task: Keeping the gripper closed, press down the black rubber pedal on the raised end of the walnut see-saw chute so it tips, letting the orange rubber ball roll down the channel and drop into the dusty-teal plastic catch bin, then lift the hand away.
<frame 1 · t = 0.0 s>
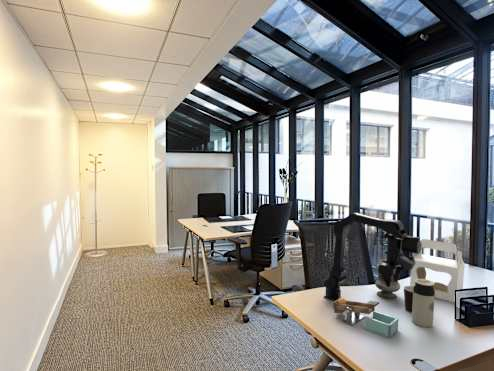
hand: (392, 284, 142), 15 cm above the table, fingers open, 9 cm apart
coffee mug: (415, 310, 150), on the table
fulcrum: (353, 319, 139), on the table
gable box: (435, 293, 172), on the table
catch bin: (381, 329, 131), on the table
lever: (357, 305, 142), point 5 cm above the table, hinge at -10.0°, touching ball
ball: (342, 301, 142), point 6 cm above the table, tilted 23°, touching lever
apothecary jar: (386, 295, 167), on the table
travel mug: (422, 323, 137), on the table
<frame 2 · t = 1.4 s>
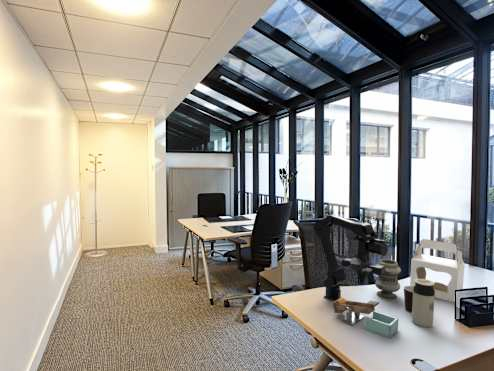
hand: (361, 284, 148), 12 cm above the table, fingers closed
nothing on the table moved.
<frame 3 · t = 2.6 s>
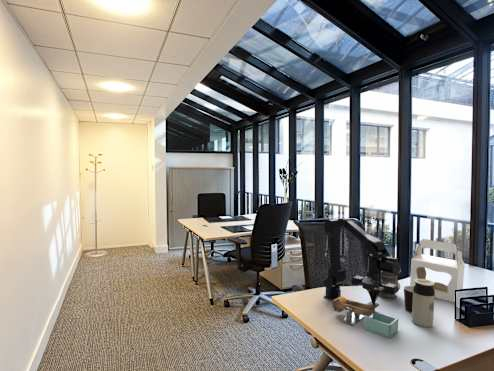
hand: (373, 303, 143), 6 cm above the table, fingers closed, pressing on lever
lever: (357, 305, 142), point 5 cm above the table, hinge at -3.0°, touching ball, gripper
ball: (342, 300, 142), point 7 cm above the table, tilted 15°, touching lever
everything else where it was.
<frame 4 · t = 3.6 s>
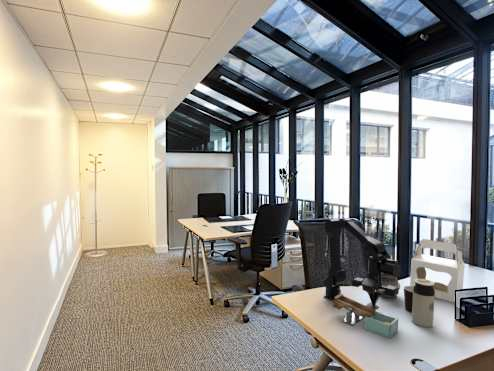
hand: (373, 305, 143), 5 cm above the table, fingers closed
lever: (357, 305, 142), point 5 cm above the table, hinge at 7.8°, touching gripper
ball: (387, 326, 129), point 2 cm above the table, tilted 81°, touching catch bin
everything else where it was.
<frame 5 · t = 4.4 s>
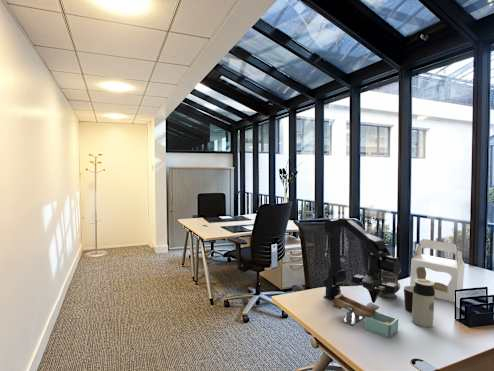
hand: (373, 302, 143), 6 cm above the table, fingers closed
lever: (357, 305, 142), point 5 cm above the table, hinge at 8.2°
everything else where it was.
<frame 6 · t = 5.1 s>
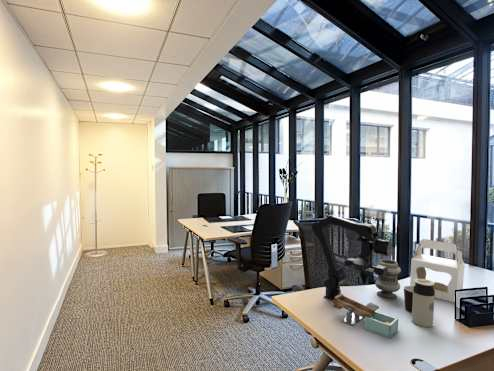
hand: (364, 284, 151), 11 cm above the table, fingers closed
nothing on the table moved.
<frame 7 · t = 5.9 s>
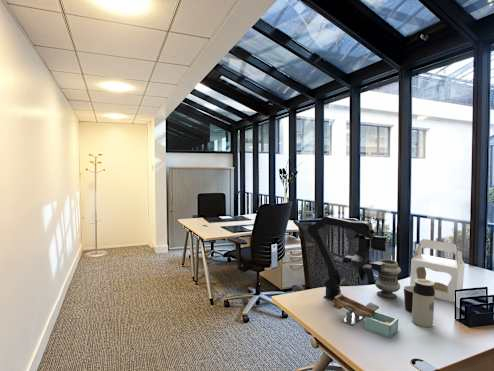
hand: (362, 280, 153), 12 cm above the table, fingers closed
nothing on the table moved.
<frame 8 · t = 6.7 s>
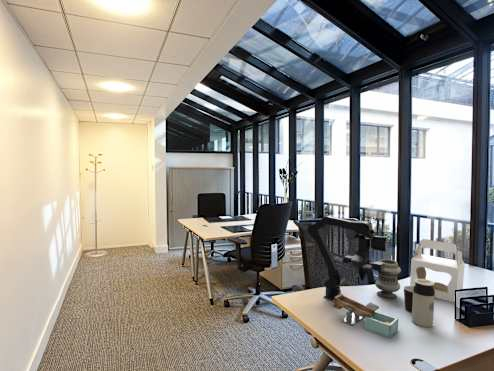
hand: (362, 280, 153), 12 cm above the table, fingers closed
nothing on the table moved.
at the end: ball inside the target area on the catch bin (2.2 cm from its centre), point 2.2 cm above the catch bin's base; lever at +8° (first picture: -10°) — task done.
